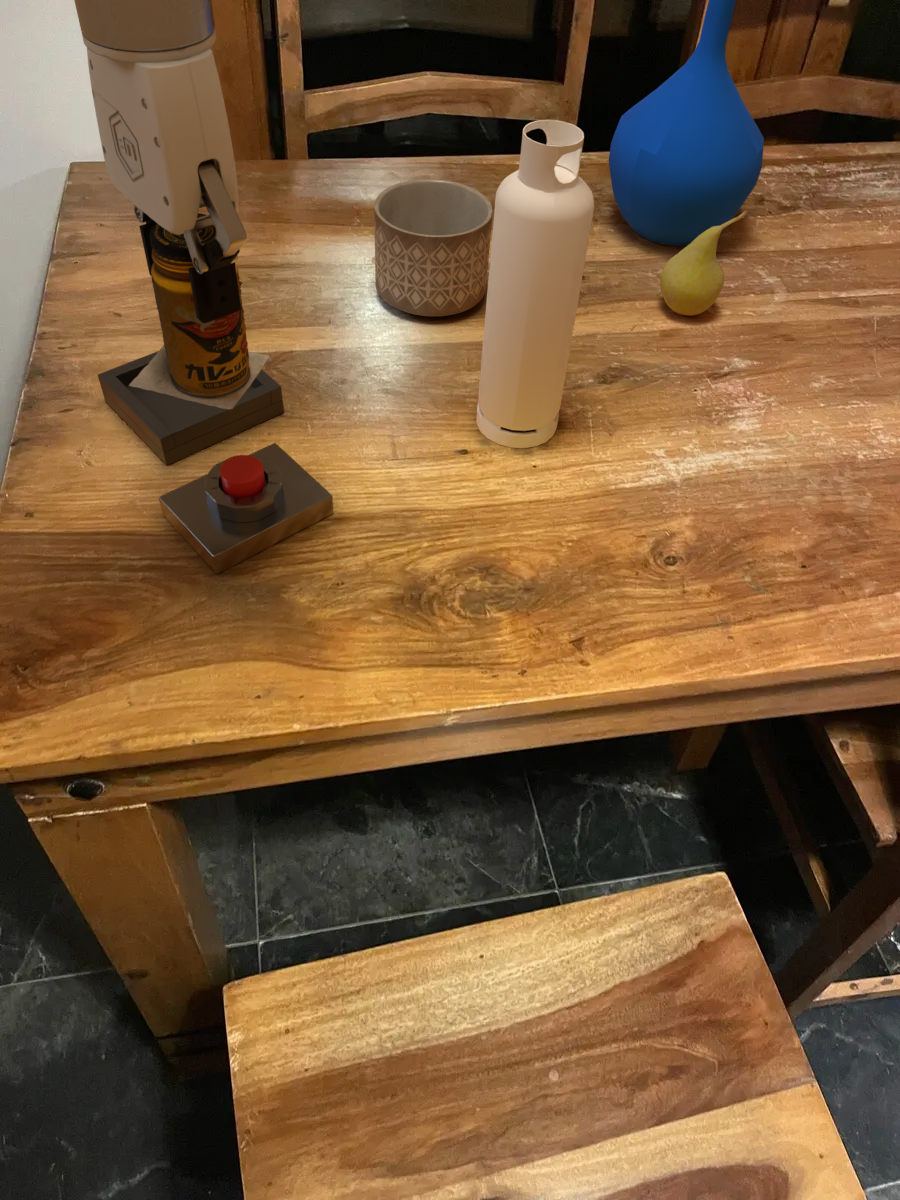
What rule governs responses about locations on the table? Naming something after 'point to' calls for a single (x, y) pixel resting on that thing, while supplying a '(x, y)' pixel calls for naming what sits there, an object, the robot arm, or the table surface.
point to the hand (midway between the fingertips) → (194, 291)
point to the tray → (185, 412)
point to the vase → (688, 146)
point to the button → (242, 476)
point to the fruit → (695, 274)
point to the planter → (432, 246)
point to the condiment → (194, 334)
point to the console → (246, 510)
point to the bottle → (534, 287)
